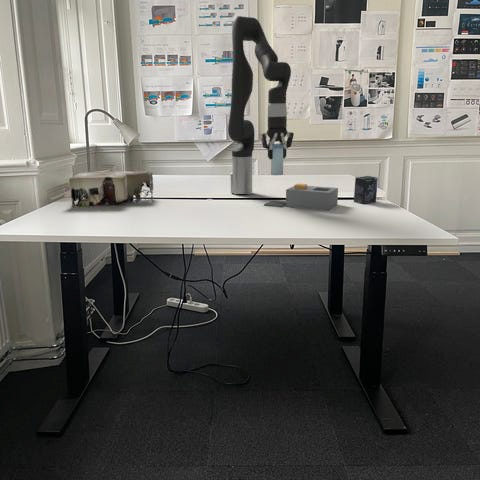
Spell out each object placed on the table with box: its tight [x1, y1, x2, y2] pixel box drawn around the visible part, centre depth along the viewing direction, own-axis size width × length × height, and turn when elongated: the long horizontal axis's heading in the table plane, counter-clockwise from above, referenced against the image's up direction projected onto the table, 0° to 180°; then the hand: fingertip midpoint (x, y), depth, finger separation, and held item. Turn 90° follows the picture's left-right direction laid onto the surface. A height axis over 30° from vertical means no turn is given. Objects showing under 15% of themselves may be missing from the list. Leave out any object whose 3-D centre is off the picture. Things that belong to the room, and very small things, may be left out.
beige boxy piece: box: [68, 170, 154, 207], centre depth 208 cm, size 18×32×13 cm, turn 91°
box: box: [353, 175, 379, 205], centre depth 204 cm, size 8×6×11 cm
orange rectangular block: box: [294, 183, 308, 189], centre depth 201 cm, size 4×4×5 cm
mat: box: [263, 200, 286, 208], centre depth 203 cm, size 8×8×1 cm
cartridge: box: [270, 143, 284, 176], centre depth 198 cm, size 5×5×12 cm
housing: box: [285, 185, 339, 211], centre depth 199 cm, size 18×12×7 cm, turn 63°
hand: (276, 158), depth 198 cm, fingers closed on cartridge, 5 cm apart
